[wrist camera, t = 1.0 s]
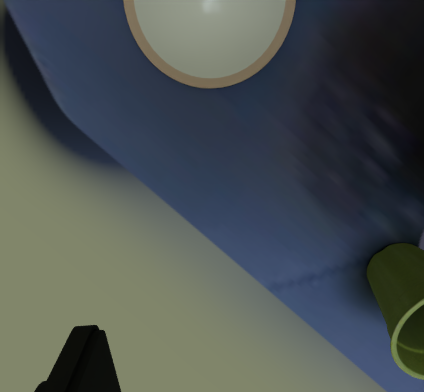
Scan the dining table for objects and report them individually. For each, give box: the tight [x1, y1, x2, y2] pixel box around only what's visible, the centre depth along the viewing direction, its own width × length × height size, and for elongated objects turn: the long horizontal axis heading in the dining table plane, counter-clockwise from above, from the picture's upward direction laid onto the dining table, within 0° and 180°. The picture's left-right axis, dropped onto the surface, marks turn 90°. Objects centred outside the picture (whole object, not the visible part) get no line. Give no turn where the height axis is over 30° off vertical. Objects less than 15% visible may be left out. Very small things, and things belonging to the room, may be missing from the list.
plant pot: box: [367, 243, 424, 380], centre depth 37 cm, size 12×12×11 cm
